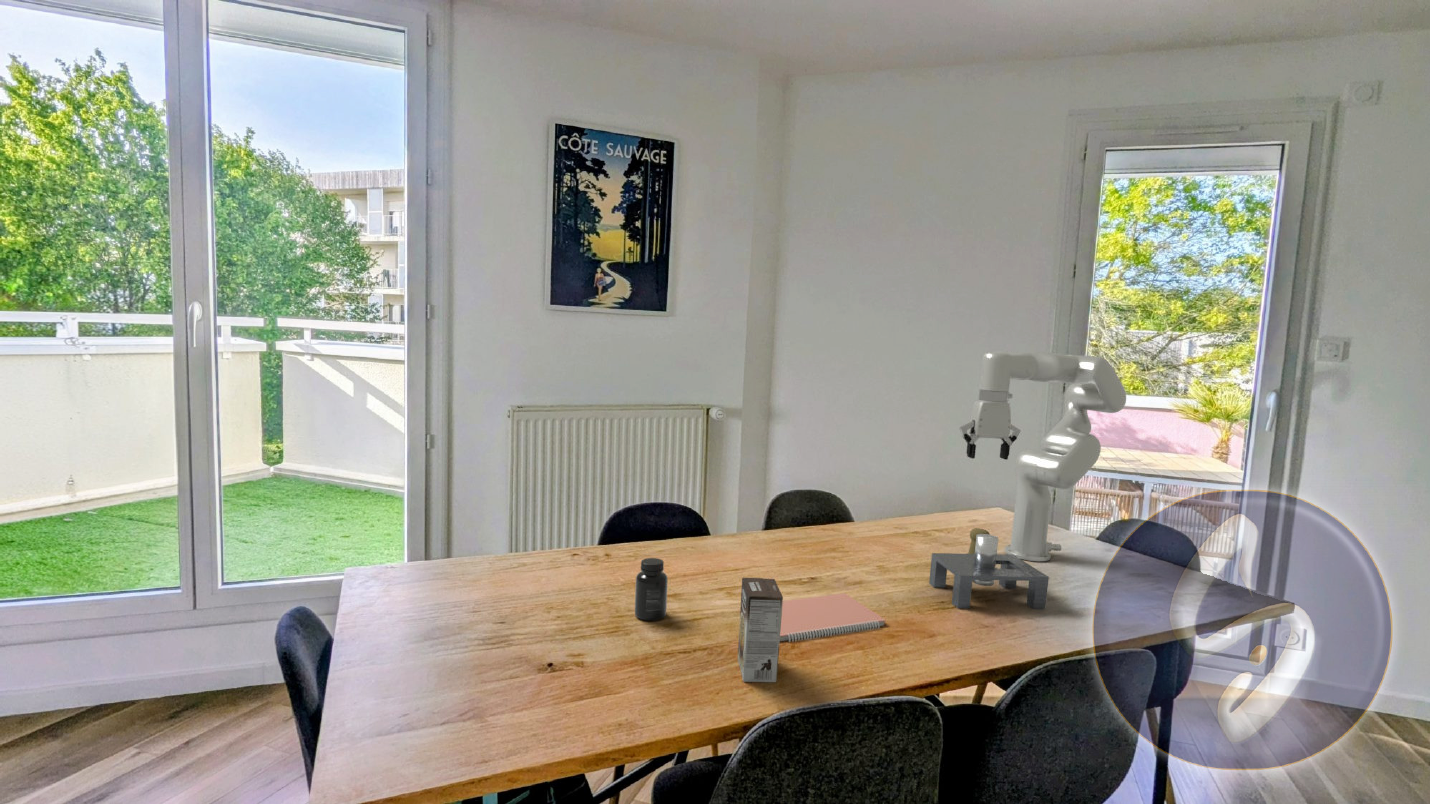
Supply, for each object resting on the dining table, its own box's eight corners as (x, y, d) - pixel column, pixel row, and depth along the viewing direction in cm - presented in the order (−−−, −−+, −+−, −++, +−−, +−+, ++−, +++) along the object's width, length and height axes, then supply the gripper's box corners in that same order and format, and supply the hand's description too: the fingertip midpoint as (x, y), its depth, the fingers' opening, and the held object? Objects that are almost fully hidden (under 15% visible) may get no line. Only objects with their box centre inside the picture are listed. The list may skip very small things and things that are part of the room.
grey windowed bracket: (1009, 584, 183) (1012, 554, 182) (1045, 609, 167) (1048, 576, 166) (929, 583, 180) (931, 553, 179) (957, 608, 164) (960, 575, 164)
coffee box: (736, 658, 134) (741, 576, 132) (769, 658, 134) (775, 577, 133) (742, 682, 125) (747, 595, 123) (777, 683, 125) (783, 596, 124)
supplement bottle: (671, 612, 153) (673, 559, 152) (658, 624, 147) (661, 569, 145) (642, 606, 155) (644, 554, 154) (628, 618, 149) (631, 563, 147)
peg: (987, 578, 176) (991, 533, 175) (997, 585, 171) (1002, 540, 170) (968, 578, 175) (972, 533, 174) (978, 585, 170) (982, 539, 169)
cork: (984, 565, 197) (988, 527, 196) (990, 572, 191) (995, 533, 190) (962, 563, 198) (966, 525, 196) (968, 570, 192) (972, 531, 190)
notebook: (778, 646, 141) (779, 637, 140) (741, 613, 156) (742, 604, 156) (888, 629, 152) (889, 620, 152) (843, 600, 167) (844, 592, 167)
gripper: (1015, 396, 198) (1009, 456, 200) (957, 394, 196) (951, 454, 198) (1030, 400, 191) (1023, 461, 193) (970, 397, 188) (964, 459, 190)
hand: (987, 458), depth 195 cm, fingers open, 9 cm apart
